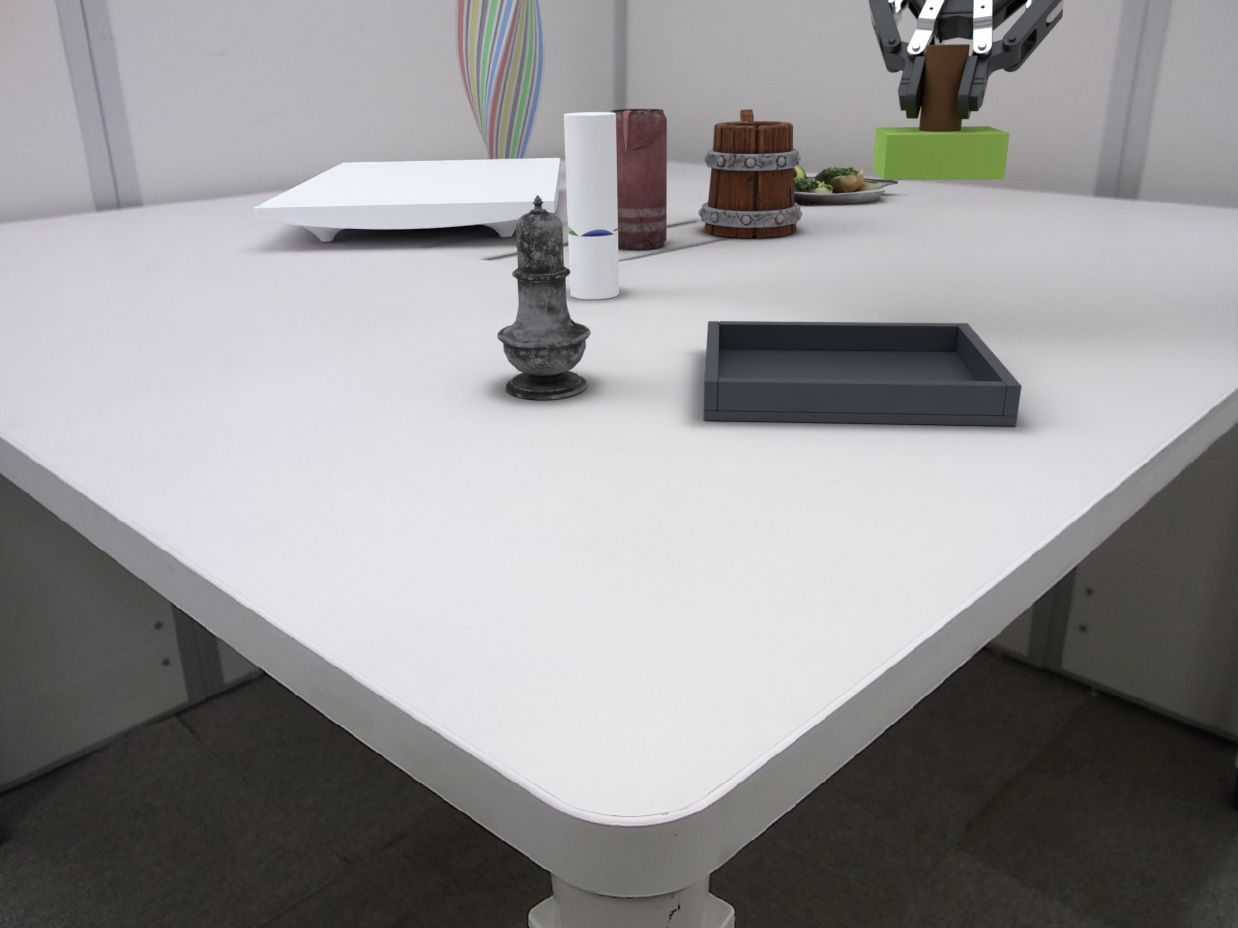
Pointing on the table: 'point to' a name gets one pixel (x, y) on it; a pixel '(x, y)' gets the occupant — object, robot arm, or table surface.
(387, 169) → the board
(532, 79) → the vase
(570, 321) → the salt shaker
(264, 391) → the table surface
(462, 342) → the table surface
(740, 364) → the tray
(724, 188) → the mug
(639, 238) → the can
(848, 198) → the salad plate
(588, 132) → the tube
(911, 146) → the green block brown handle
